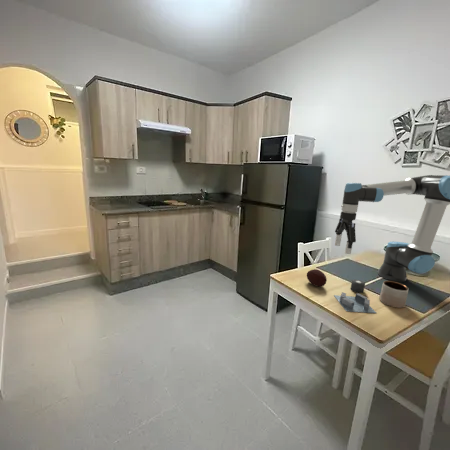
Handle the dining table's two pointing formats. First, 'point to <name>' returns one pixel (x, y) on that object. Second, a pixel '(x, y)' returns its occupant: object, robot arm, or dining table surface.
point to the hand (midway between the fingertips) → (342, 249)
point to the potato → (316, 277)
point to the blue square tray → (355, 303)
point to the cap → (357, 286)
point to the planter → (394, 294)
